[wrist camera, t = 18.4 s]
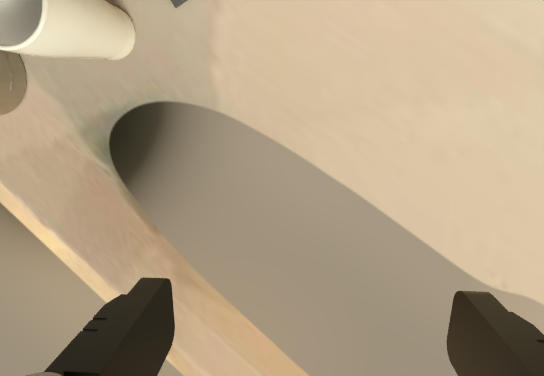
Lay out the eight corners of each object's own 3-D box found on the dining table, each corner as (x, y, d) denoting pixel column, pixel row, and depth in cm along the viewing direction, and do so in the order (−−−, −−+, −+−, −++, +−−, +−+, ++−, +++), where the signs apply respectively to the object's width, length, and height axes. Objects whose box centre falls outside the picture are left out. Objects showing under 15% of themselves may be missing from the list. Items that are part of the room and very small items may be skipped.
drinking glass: (78, 57, 38) (-56, 35, 23) (86, -10, 36) (-53, -79, 22) (138, 75, 38) (42, 64, 23) (149, 9, 36) (52, -47, 22)
